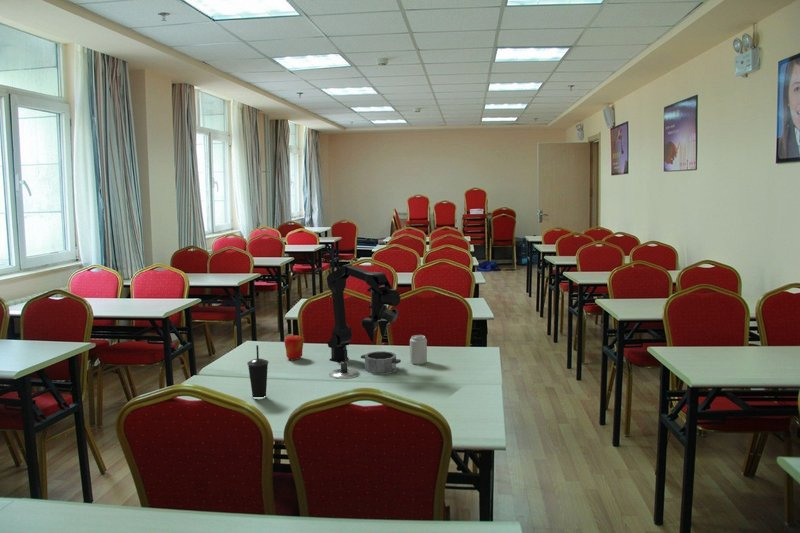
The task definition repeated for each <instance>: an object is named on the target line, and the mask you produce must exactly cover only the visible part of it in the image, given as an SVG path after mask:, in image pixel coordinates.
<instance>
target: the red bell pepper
mask: <svg viewBox="0 0 800 533" xmlns="http://www.w3.org/2000/svg"><path fill="white" fill-rule="evenodd" d="M284 347H285V354H286V358H287V359H288V360H290V359H292V360H291V361H294V359H296V360H299V359H301V357H303V348H304V339H303V336H300V335H299V334H298V335H297V334H296V335H295V334H294V333H292V335H288V336H286V337H285V338H284Z"/></svg>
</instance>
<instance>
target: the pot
mask: <svg viewBox="0 0 800 533" xmlns="http://www.w3.org/2000/svg"><path fill="white" fill-rule="evenodd" d="M360 359H362V360H364V370H365V372H367V373H369V374H374V375H375V374H376V375H385V374H390V373H394V372H396V371H397V364H400V363H401V362H402V360H401V359H397V354H396V353H395V352H391V351H386V350H385V351H381V350H380V351H370V352H368V353H365V354H362V355H360Z"/></svg>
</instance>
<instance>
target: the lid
mask: <svg viewBox="0 0 800 533" xmlns="http://www.w3.org/2000/svg"><path fill="white" fill-rule="evenodd" d="M359 375H360V371H359V370H357V369H354V368H348V361H342V362H340V368H338V369H334V370H331V371H330V372H329V373H328V376H329V377H330V378H332V377H333V379H340V380H347V379H353V378H356V377H358V376H359Z"/></svg>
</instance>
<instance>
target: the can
mask: <svg viewBox="0 0 800 533" xmlns="http://www.w3.org/2000/svg"><path fill="white" fill-rule="evenodd" d="M427 346H428V339H427V338H426V336H425V335H423V334H416V335H412V336H411V338H410V339H409V362H410V363H411V364H413V365H419V366H420V365H425V364H426V362H428V347H427Z"/></svg>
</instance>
